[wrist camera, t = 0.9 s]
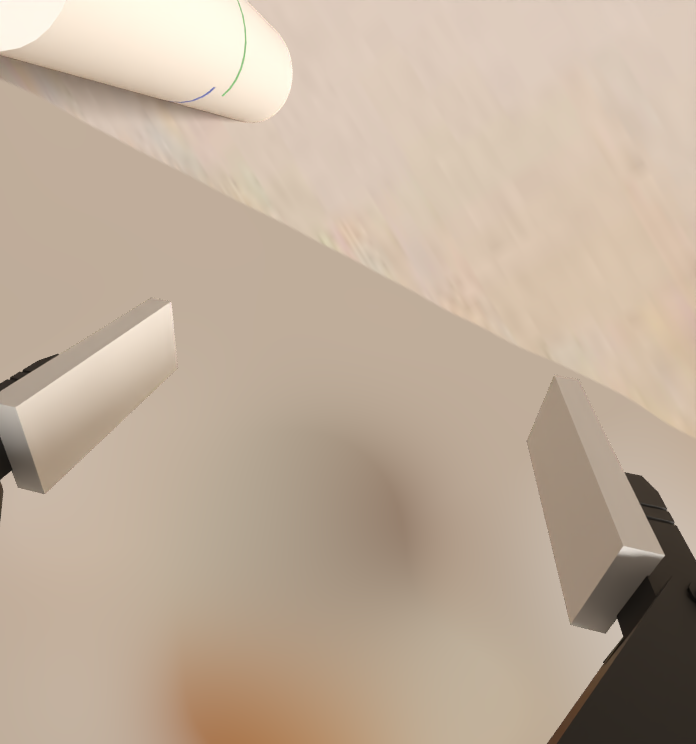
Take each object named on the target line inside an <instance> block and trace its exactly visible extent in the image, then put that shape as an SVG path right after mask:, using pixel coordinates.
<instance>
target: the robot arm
mask: <svg viewBox="0 0 696 744" xmlns="http://www.w3.org/2000/svg"><path fill="white" fill-rule="evenodd" d="M174 335H175V334H174V325H173V314H172V304H171V301H166V300H161V299H156V298H150V299H148V300H146V301H145V302H143V303H142V304H140V305H138V306H137V307H135V308H133V309H132V310H131V311H129V312H127V313H126V314H124V315H122V316H121V317H119V318H117V319H116V320H114V321H113V322H111V323H109V324H108V325H106V326H104V327H103V328H101V329H100V330H98V331H96V332H95V333H93V334H92V335H90V336H88V337H87V338H85V339H84V340H82V341H80V342H79V343H77V344H76V345H74V346H72V347H71V348H69V349H67V350H66V351H64V352H63V353H61V354H56V355H53V356H50V357H47V358H44V359H41V360H39V361H37V362H35V363H33V364H32V365H30V366H28V367H27V368H25V369H24V370H23V372H18V373H17V374H16V375H14V376H12V377H10V380H5V381H4V382H2V383H0V480H1V479H2V478H3V477H4V476H5V475H7V474H8V473H9V472H10V471H12V473H13V475H14V478H15V481H16V484H17V486H18V488H22V489H26V490H30V491H35V492H38V493H42V494H45V493H46V492H47V491H49V489H51V488H52V487H53V486H54V485H55V484H56V483H57V482H58V481H59V480H60V479H61V478H62V477H63V476H64V475H65V474H67V473H68V472H69V471H70V470H71V469H72V468H73V467H74V466H75V465H76V464H77V463H78V462H79V461H80V460H81V459H82V458H84V457H85V456H86V455H87V454H88V453H89V452H90V451H91V450H92V449H93V448H94V447H95V446H96V445H97V444H98V443H99V442H100V441H101V440H103V439H104V438H105V437H106V436H107V435H108V434H109V433H110V432H111V431H112V430H113V429H114V428H115V427H116V426H117V425H118V424H119V423H121V422H122V421H123V420H124V419H125V418H126V417H127V416H128V415H129V414H130V413H131V412H132V411H133V410H134V409H135V408H136V407H138V406H139V405H140V404H141V403H142V402H143V401H144V400H145V399H146V398H147V397H148V396H149V395H150V394H151V393H152V392H153V391H154V390H156V389H157V388H158V387H159V386H160V385H161V384H162V383H163V382H164V381H165V380H166V379H167V378H168V377H169V376H170V375H171V374H172V373H173V372H174V371H176V370H177V369H178V366H177V355H176V345H175V336H174ZM527 445H528V449H529V453H530V457H531V461H532V466H533V470H534V474H535V478H536V482H537V486H538V491H539V495H540V499H541V504H542V508H543V512H544V516H545V520H546V524H547V529H548V533H549V537H550V541H551V546H552V550H553V554H554V558H555V562H556V567H557V571H558V575H559V579H560V583H561V587H562V591H563V596H564V600H565V604H566V609H567V613H568V617H569V621H570V625H573V626H577V627H581V628H585V629H589V630H593V631H598V632H601V633H606V632H607V631H608V630H609V628H610V627H611V626H612V624H613V623H614V622H615V620H616V619H618V622H619V625H620V628H621V631H622V634H623V638H622V639H621V641H620V642H619V643H618V644H617V645H616V647H615V648H614V649H613V651H612V652H611V653H610V654H609V656H608V657H607V658H606V659H605V661H604V662H603V663H604V664H603V665H602V667H601V668H600V670H599V671H598V673H597V674H596V675H595V677H594V678H593V680H592V681H591V682H590V684H589V685H588V687H587V688H586V689H585V691H584V692H583V694H582V695H581V696H580V698H579V699H578V701H577V702H576V704H575V705H574V706H573V708H572V709H571V711H570V712H569V713H568V715H567V716H566V718H565V719H564V721H563V722H562V723H561V725H560V726H559V728H558V729H557V730H556V732H555V733H554V735H553V736H552V737H551V739H550V740H549V742H548V743H547V744H696V560H695V558H694V556H693V555H692V553H691V551H690V549H689V547H688V546H687V544H686V542H685V540H684V538H683V537H682V535H681V533H680V531H679V529H678V528H677V526H676V525H674V520H673V518H672V517H671V515H670V513H669V512H667V508H666V506H665V504H664V502H663V500H662V498H661V497H660V495H659V493H658V492H657V491H656V490H655V489H654V488H653V487H652V486H651V485H650V484H649V483H648V482H647V481H646V480H645V479H644V478H643V477H642V476H640V475H635V474H630V473H625V472H624V471H623V469H622V467H621V465H620V462H619V460H618V458H617V456H616V454H615V452H614V450H613V448H612V446H611V444H610V442H609V440H608V438H607V436H606V434H605V432H604V430H603V428H602V426H601V424H600V422H599V420H598V418H597V415H596V414H595V411H594V409H593V407H592V405H591V403H590V401H589V399H588V397H587V395H586V393H585V391H584V389H583V387H582V385H581V383H580V381H579V380H578V379H573V378H568V377H562V376H557V375H554V377H553V379H552V382H551V384H550V387H549V389H548V391H547V394H546V396H545V398H544V401H543V403H542V405H541V408H540V410H539V413H538V415H537V418H536V420H535V422H534V425H533V427H532V429H531V432H530V434H529V437H528V439H527ZM2 498H3V488H2V485H1V482H0V518H1V508H2Z"/></svg>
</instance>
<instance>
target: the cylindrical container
mask: <svg viewBox="0 0 696 744" xmlns="http://www.w3.org/2000/svg"><path fill="white" fill-rule="evenodd" d="M0 55H2V56H6V57H9V58H13V59H16V60H20V61H24V62H27V63H31V64H35V65H38V66H42V67H46V68H49V69H53V70H56V71H60V72H64V73H67V74H71V75H75V76H78V77H82V78H86V79H89V80H93V81H97V82H100V83H104V84H108V85H111V86H115V87H118V88H122V89H126V90H129V91H133V92H137V93H140V94H144V95H148V96H151V97H155V98H159V99H162V100H166V101H170V102H173V103H177V104H181V105H184V106H188V107H191V108H195V109H199V110H202V111H206V112H210V113H213V114H217V115H221V116H224V117H228V118H232V119H235V120H239V121H243V122H249V123H255V122H261V121H264V120H267V119H269V118H270V117H272V116H273V115H275V114H276V113H277V112H278V111H279V110H280V109H281V108H282V106H283V104H284V103H285V101H286V100H287V97H288V95H289V92H290V88H291V84H292V63H291V57H290V54H289V51H288V48H287V46H286V44H285V42H284V40H283V38H282V37H281V36H280V34H279V33H278V32H277V31H276V30H275V28H274V27H273V26H272V25H271V24H270V23H269V22H268V21H267V20H266V19H265V18H264V17H263V16H262V15H261V14H260V13H259V12H258V11H257V10H256V9H255V8H254V7H253V6H252V5H251V4H250V3H249V2H248V1H247V0H0Z"/></svg>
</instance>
